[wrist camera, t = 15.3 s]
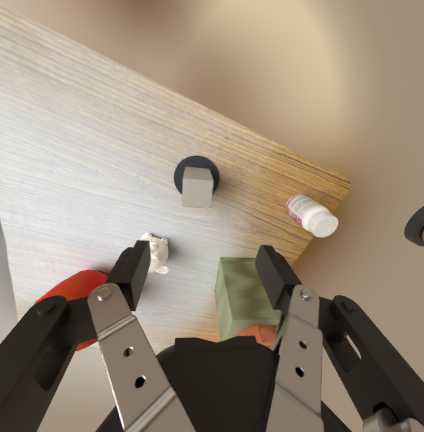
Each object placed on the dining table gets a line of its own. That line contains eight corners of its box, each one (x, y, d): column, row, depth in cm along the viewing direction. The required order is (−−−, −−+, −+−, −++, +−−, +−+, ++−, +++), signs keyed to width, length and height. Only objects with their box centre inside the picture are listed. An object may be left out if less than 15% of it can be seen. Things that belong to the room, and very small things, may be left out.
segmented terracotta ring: (287, 323, 28) (295, 340, 26) (273, 349, 32) (279, 366, 29) (239, 325, 27) (243, 343, 25) (231, 351, 31) (233, 369, 28)
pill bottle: (280, 208, 34) (304, 231, 26) (297, 188, 32) (328, 207, 24) (296, 218, 35) (323, 243, 28) (313, 200, 33) (347, 222, 26)
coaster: (221, 158, 28) (221, 158, 28) (215, 200, 31) (215, 201, 31) (174, 153, 27) (174, 153, 27) (174, 197, 30) (173, 198, 30)
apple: (137, 269, 38) (109, 340, 25) (116, 300, 42) (84, 374, 29) (76, 247, 33) (8, 319, 21) (61, 284, 38) (-5, 362, 25)
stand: (266, 258, 40) (298, 318, 27) (255, 290, 45) (278, 352, 32) (220, 257, 38) (232, 320, 26) (214, 290, 43) (222, 355, 31)
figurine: (176, 241, 35) (173, 264, 29) (166, 262, 37) (161, 287, 32) (137, 228, 33) (125, 250, 27) (129, 252, 35) (116, 277, 29)
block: (209, 168, 28) (213, 180, 22) (207, 191, 30) (210, 208, 24) (185, 166, 28) (182, 178, 22) (184, 189, 30) (181, 206, 23)
